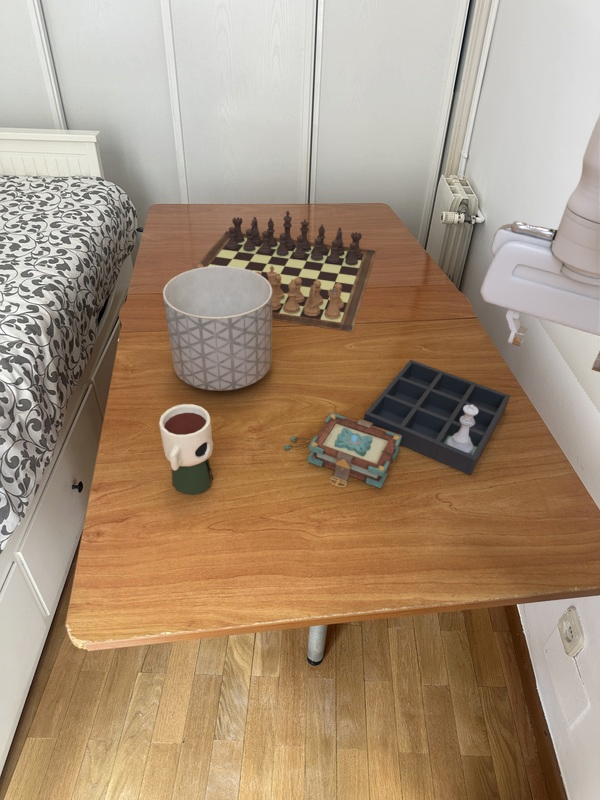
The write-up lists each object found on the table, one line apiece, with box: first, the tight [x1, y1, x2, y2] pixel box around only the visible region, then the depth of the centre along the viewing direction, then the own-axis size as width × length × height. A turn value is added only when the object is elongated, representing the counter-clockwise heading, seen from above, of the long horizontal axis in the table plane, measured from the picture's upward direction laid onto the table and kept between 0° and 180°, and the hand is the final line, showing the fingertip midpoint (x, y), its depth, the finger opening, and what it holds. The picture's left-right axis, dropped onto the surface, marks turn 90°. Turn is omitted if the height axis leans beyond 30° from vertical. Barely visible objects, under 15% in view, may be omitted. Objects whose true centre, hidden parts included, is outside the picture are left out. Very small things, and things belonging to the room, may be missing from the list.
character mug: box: [158, 403, 214, 496], centre depth 80 cm, size 11×7×13 cm, turn 168°
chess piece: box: [446, 405, 478, 454], centre depth 87 cm, size 4×4×10 cm
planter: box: [162, 266, 273, 392], centre depth 100 cm, size 19×19×18 cm
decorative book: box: [284, 412, 402, 489], centre depth 88 cm, size 13×18×5 cm
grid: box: [363, 359, 511, 476], centre depth 96 cm, size 20×20×4 cm
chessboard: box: [162, 210, 377, 333], centre depth 136 cm, size 45×45×10 cm
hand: (555, 355), depth 62 cm, fingers open, 8 cm apart
